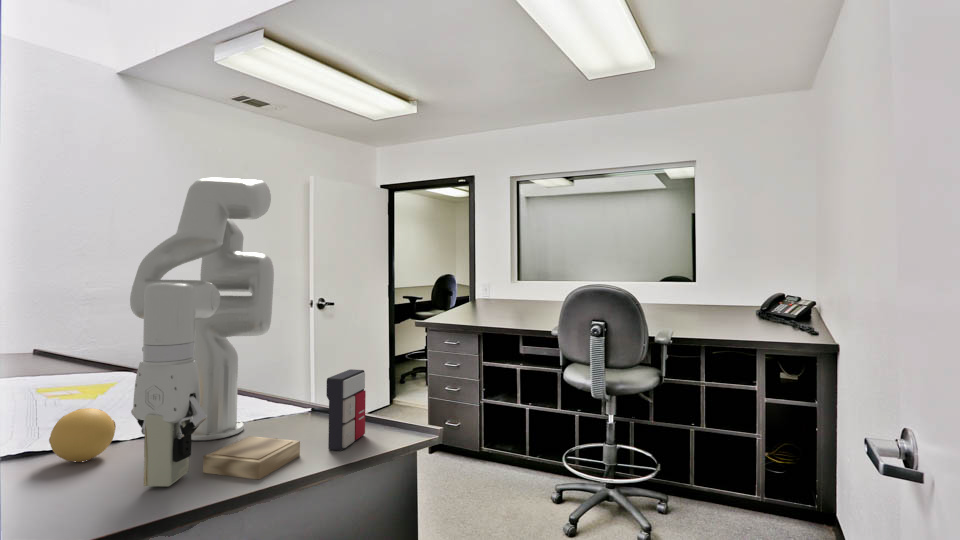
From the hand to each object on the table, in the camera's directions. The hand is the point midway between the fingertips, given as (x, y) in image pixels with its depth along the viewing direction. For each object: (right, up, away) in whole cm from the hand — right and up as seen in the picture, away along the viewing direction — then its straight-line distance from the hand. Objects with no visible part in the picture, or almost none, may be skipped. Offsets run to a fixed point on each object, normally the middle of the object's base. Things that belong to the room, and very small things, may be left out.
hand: (167, 456), depth 85 cm
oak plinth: (+11, -5, +9) cm, 15 cm away
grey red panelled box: (+25, -6, +22) cm, 34 cm away
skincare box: (0, -4, 0) cm, 4 cm away
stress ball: (-23, -5, +10) cm, 26 cm away
